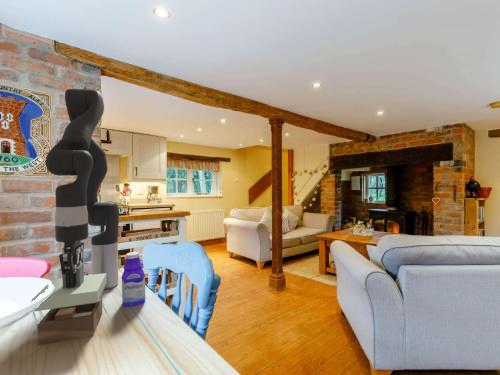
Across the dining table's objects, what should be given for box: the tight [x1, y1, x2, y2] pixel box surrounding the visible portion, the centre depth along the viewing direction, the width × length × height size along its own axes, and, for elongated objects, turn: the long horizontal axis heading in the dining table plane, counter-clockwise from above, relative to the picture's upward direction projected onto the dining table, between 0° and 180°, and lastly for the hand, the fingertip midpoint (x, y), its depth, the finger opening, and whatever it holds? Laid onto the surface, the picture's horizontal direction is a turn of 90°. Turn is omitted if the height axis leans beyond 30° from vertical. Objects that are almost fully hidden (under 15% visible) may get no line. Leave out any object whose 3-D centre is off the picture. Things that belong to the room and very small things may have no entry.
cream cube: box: [74, 312, 92, 317], centre depth 71 cm, size 4×4×4 cm
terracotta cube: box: [55, 307, 76, 320], centre depth 74 cm, size 4×4×4 cm
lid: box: [31, 264, 107, 313], centre depth 72 cm, size 14×14×8 cm
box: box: [37, 296, 103, 346], centre depth 72 cm, size 12×12×6 cm
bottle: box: [120, 251, 146, 308], centre depth 87 cm, size 7×6×17 cm
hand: (73, 283), depth 72 cm, fingers closed on lid, 4 cm apart
